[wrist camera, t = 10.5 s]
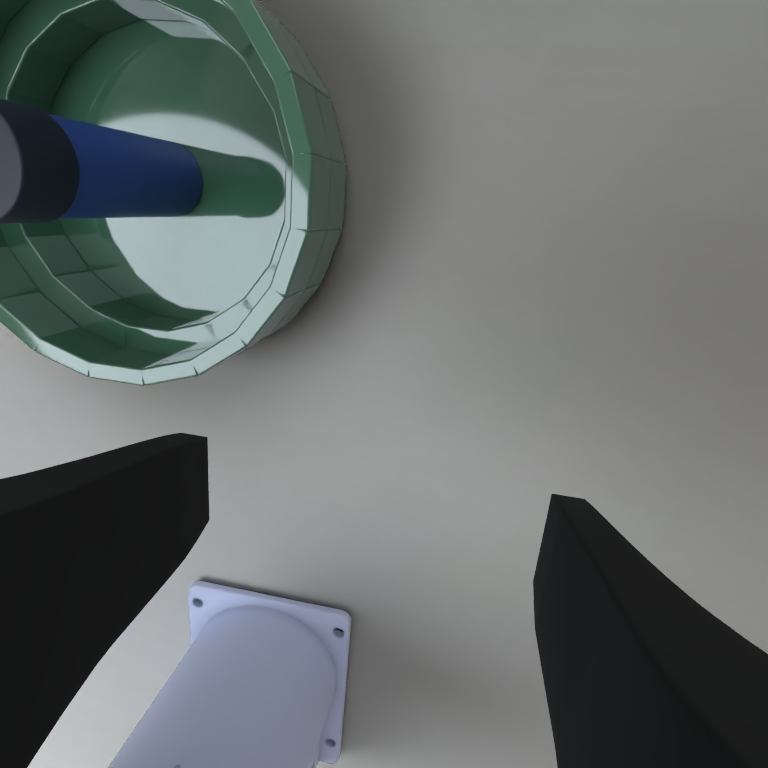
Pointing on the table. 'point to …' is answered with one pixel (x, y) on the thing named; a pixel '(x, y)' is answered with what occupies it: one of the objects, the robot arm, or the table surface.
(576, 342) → the table surface
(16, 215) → the marker
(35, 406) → the table surface
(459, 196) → the table surface
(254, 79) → the bowl
